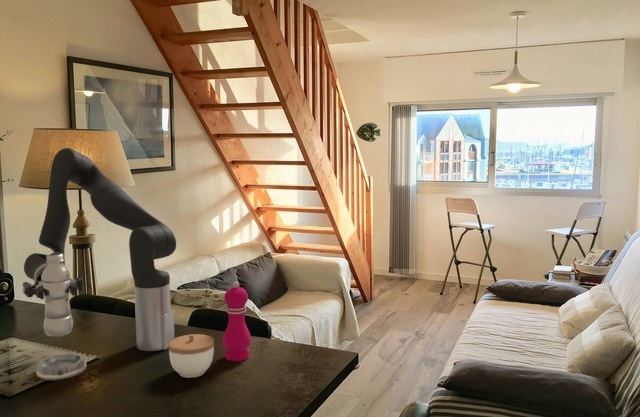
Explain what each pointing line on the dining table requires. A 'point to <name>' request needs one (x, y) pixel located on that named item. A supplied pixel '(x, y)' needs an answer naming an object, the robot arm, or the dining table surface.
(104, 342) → the dining table surface
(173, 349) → the lidded jar
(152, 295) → the robot arm
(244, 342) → the pepper mill
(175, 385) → the dining table surface
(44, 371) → the tray
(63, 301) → the plastic bottle
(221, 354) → the dining table surface
